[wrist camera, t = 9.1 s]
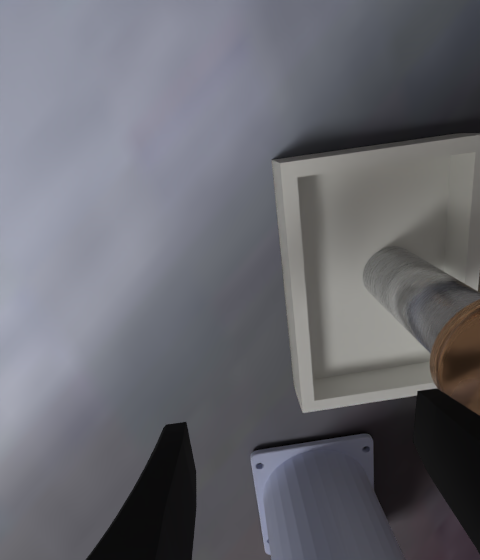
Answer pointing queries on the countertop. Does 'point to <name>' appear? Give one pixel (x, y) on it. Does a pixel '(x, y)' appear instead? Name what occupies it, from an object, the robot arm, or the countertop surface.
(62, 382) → the countertop surface
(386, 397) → the tray
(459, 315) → the pin
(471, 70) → the countertop surface
